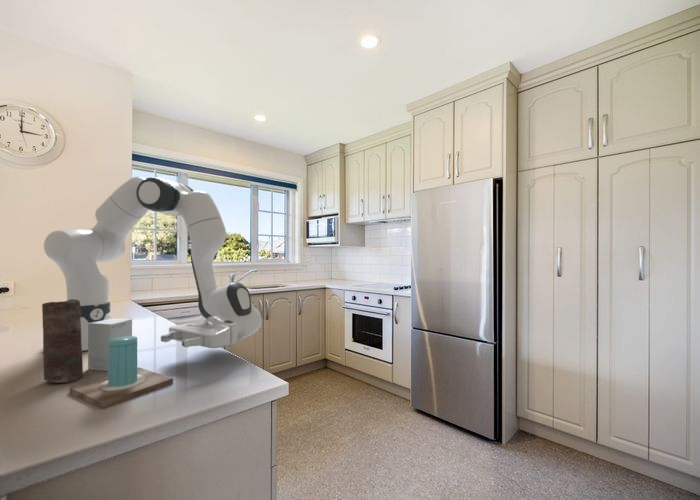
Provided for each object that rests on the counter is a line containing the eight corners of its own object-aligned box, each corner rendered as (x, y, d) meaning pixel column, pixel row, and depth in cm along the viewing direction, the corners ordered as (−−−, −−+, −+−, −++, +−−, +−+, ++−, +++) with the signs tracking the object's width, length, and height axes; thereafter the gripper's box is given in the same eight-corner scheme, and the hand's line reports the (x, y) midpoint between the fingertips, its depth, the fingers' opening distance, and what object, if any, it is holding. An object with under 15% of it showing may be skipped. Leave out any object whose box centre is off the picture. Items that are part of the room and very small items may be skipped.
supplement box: (109, 371, 89) (109, 324, 89) (86, 369, 90) (86, 323, 90) (133, 362, 96) (133, 318, 96) (111, 360, 98) (111, 317, 98)
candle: (37, 388, 78) (37, 303, 78) (48, 377, 85) (48, 298, 85) (78, 382, 82) (78, 300, 82) (86, 372, 88) (85, 296, 88)
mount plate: (69, 392, 76) (69, 365, 76) (139, 371, 89) (139, 348, 89) (102, 408, 68) (102, 378, 68) (172, 383, 81) (172, 357, 81)
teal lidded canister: (103, 383, 78) (103, 340, 78) (129, 375, 82) (129, 335, 82) (116, 388, 75) (116, 344, 75) (142, 380, 80) (142, 338, 80)
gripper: (194, 316, 106) (150, 325, 94) (239, 323, 96) (196, 334, 84) (194, 336, 106) (150, 347, 94) (239, 345, 96) (196, 359, 84)
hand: (172, 341), depth 89 cm, fingers open, 8 cm apart
